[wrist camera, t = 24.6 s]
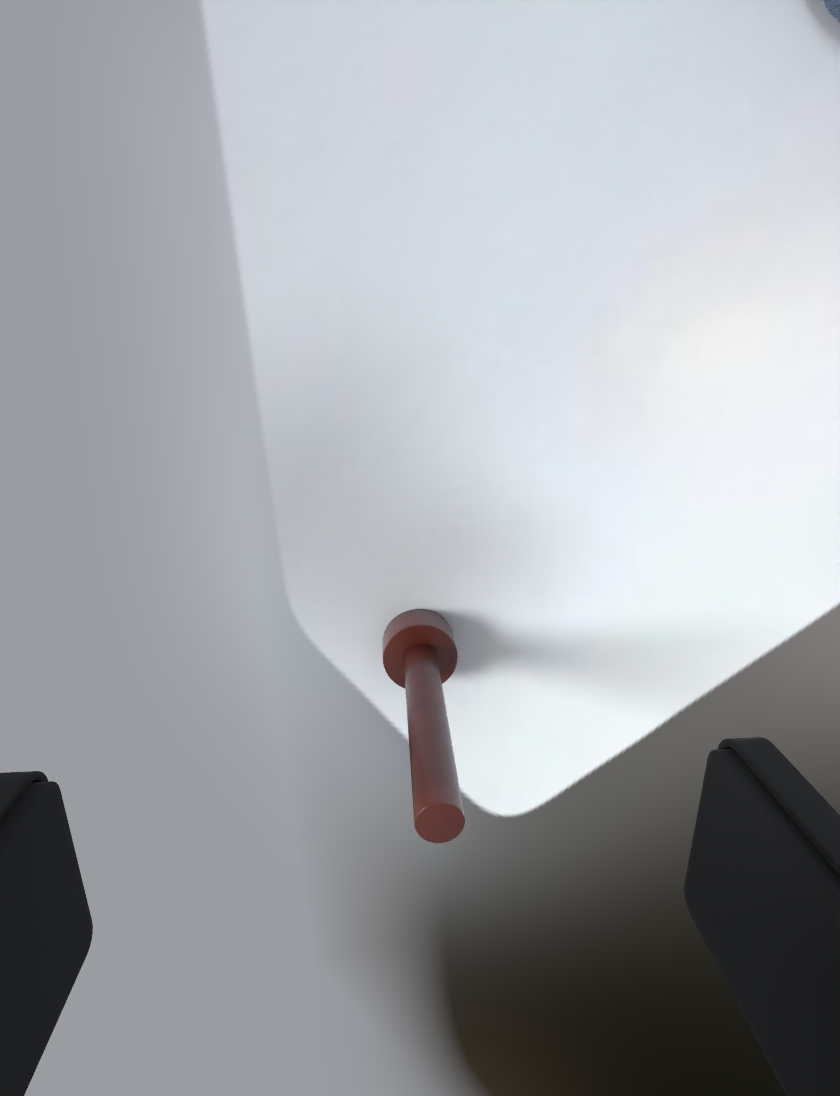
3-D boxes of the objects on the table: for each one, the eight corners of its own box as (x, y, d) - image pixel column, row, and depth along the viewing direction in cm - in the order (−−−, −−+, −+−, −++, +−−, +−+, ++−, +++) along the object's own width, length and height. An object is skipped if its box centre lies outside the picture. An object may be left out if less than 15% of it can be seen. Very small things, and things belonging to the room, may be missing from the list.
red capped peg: (368, 648, 36) (361, 835, 23) (411, 595, 35) (430, 758, 22) (424, 684, 37) (448, 884, 24) (468, 634, 36) (518, 812, 23)
